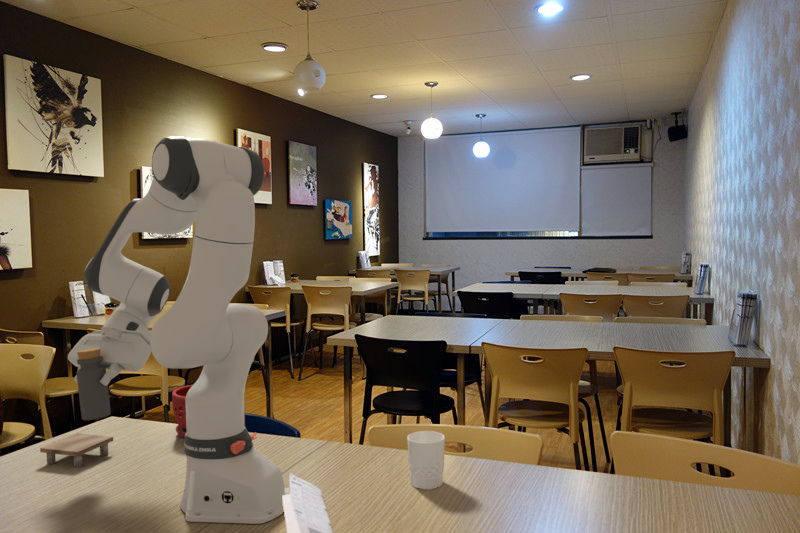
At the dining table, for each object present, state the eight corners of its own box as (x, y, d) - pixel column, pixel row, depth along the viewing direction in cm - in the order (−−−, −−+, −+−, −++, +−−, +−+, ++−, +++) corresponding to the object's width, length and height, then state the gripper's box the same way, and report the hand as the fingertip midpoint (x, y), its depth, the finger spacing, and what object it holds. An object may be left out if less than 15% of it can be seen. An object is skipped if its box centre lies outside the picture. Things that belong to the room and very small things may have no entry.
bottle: (103, 418, 134) (95, 350, 133) (76, 421, 134) (68, 353, 134) (115, 411, 140) (108, 346, 139) (90, 414, 140) (82, 348, 139)
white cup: (453, 482, 130) (452, 435, 129) (428, 494, 124) (428, 445, 123) (424, 473, 135) (424, 428, 135) (400, 484, 129) (399, 437, 129)
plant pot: (162, 438, 162) (160, 393, 162) (196, 423, 174) (195, 381, 174) (202, 443, 157) (200, 397, 157) (234, 428, 169) (233, 385, 169)
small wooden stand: (113, 452, 152) (113, 436, 151) (78, 469, 141) (77, 452, 141) (78, 449, 155) (77, 433, 155) (41, 464, 144) (40, 448, 144)
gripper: (82, 323, 146) (46, 372, 138) (148, 325, 139) (115, 378, 130) (98, 338, 151) (65, 387, 142) (163, 341, 143) (132, 393, 134)
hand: (89, 383), depth 136 cm, fingers closed on bottle, 6 cm apart
